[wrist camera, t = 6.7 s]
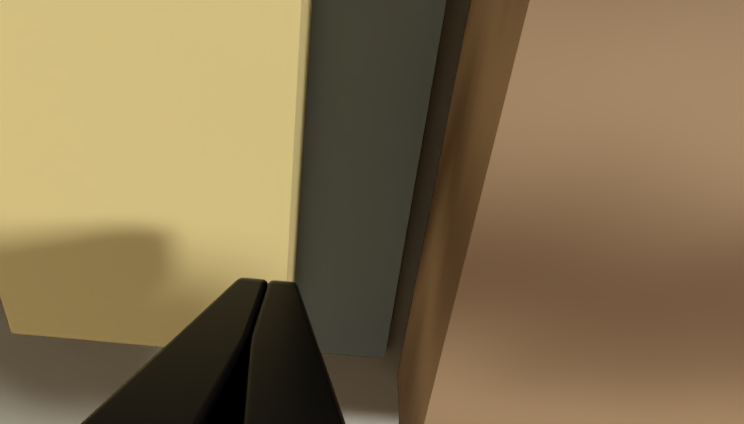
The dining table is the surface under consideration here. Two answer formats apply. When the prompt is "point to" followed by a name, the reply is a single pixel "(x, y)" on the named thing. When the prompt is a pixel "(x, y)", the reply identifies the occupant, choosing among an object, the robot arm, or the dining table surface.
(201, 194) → the butter block
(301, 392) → the robot arm
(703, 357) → the brown flat block
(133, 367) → the dining table surface
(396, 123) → the mat
